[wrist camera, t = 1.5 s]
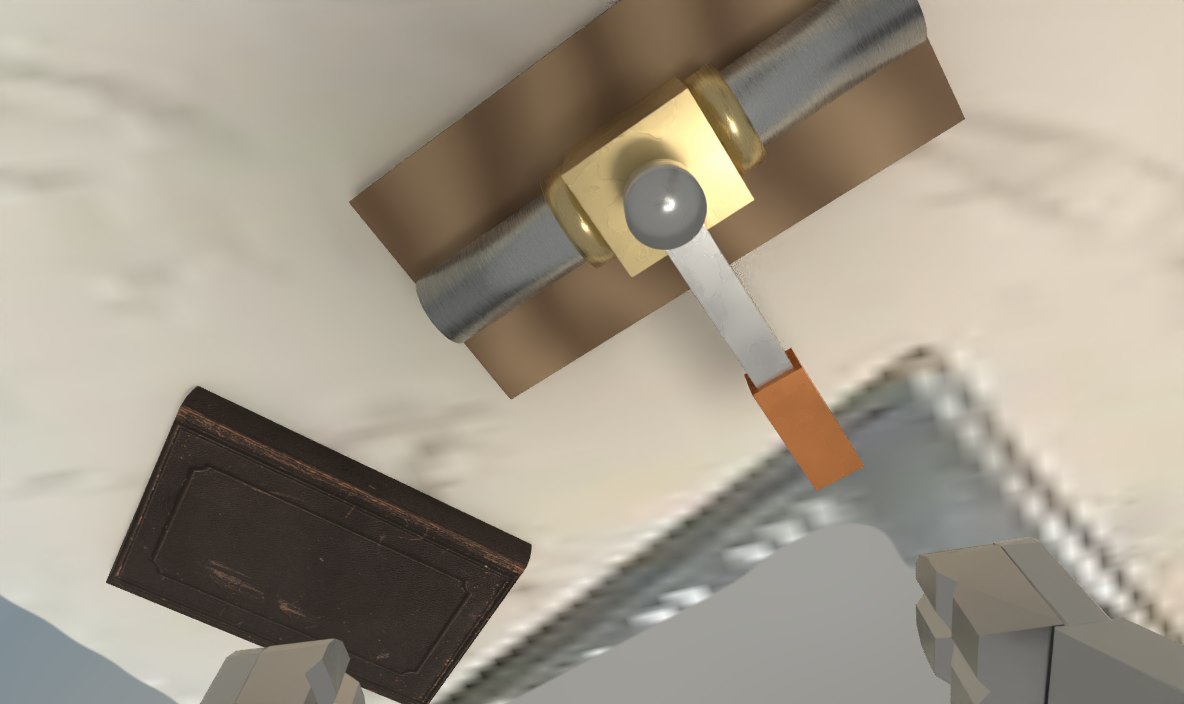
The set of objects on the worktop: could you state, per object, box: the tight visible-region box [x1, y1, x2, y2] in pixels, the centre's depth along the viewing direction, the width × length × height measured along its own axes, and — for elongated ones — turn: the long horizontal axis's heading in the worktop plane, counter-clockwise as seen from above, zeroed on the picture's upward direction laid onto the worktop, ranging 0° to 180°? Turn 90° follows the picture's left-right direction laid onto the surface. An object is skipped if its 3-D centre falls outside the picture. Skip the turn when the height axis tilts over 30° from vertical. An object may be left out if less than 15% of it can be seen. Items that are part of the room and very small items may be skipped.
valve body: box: [416, 0, 927, 343], centre depth 35 cm, size 26×6×8 cm, turn 124°
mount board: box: [349, 0, 965, 399], centre depth 39 cm, size 28×14×2 cm, turn 124°
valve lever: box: [623, 159, 864, 491], centre depth 33 cm, size 17×3×2 cm, turn 34°
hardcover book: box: [106, 386, 531, 704], centre depth 51 cm, size 16×23×2 cm
